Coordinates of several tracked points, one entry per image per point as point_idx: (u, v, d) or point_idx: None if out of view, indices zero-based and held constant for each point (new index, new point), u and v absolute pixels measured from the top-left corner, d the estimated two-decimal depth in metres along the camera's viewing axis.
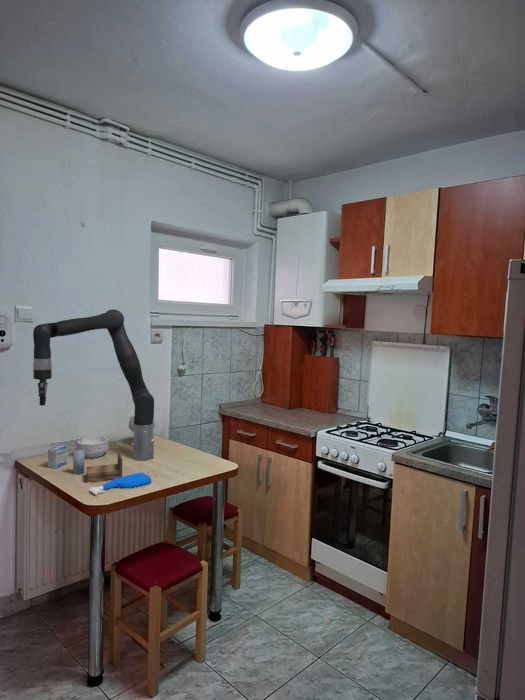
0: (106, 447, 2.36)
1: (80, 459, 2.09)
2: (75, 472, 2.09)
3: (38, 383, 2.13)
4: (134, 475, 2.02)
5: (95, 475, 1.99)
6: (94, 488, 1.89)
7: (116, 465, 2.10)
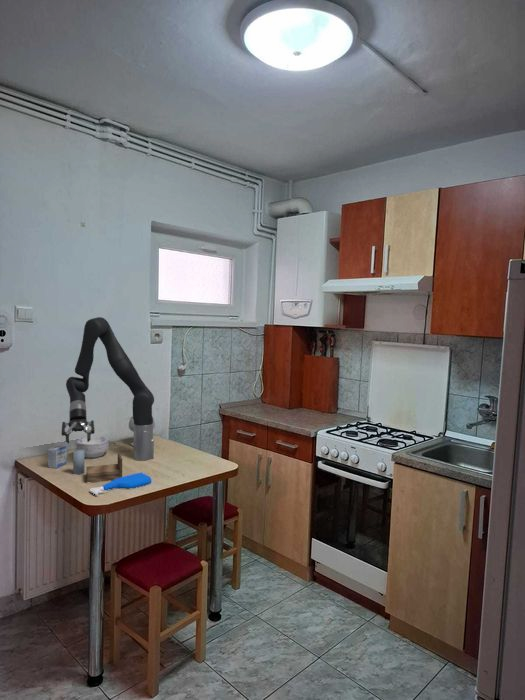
0: (106, 447, 2.36)
1: (80, 459, 2.09)
2: (75, 472, 2.09)
3: None
4: (134, 475, 2.02)
5: (95, 475, 1.99)
6: (94, 489, 1.88)
7: (116, 465, 2.10)
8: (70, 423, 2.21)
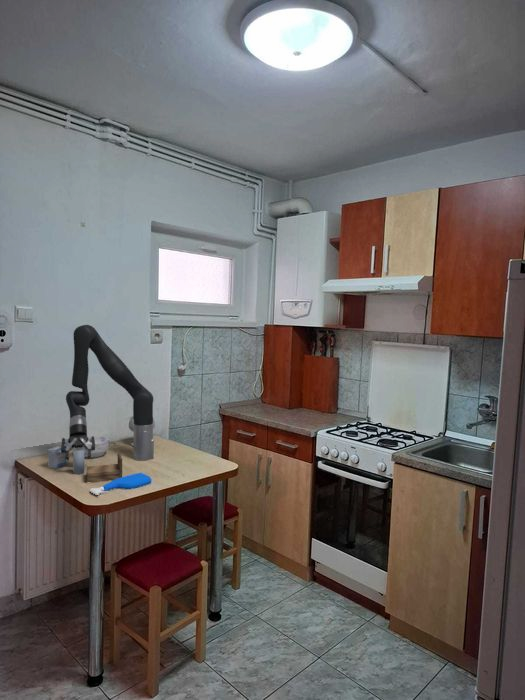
0: (106, 447, 2.36)
1: (80, 459, 2.09)
2: (75, 472, 2.09)
3: None
4: (133, 475, 2.02)
5: (95, 475, 1.99)
6: (95, 489, 1.88)
7: (116, 465, 2.10)
8: (70, 439, 2.14)
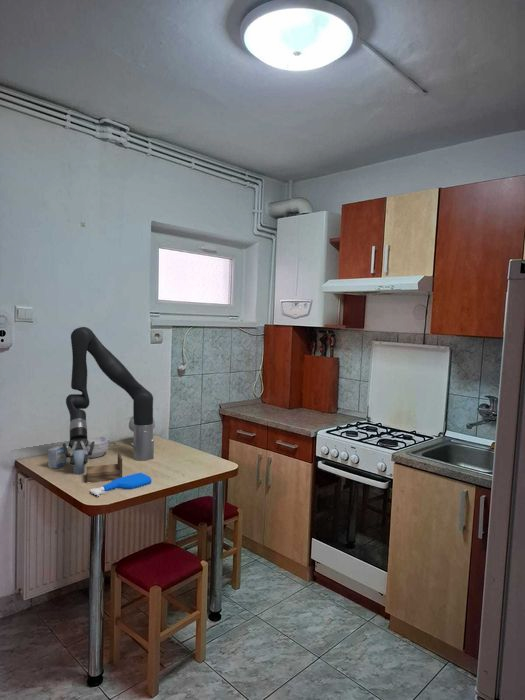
0: (106, 447, 2.36)
1: (80, 459, 2.09)
2: (75, 472, 2.09)
3: None
4: (133, 475, 2.01)
5: (95, 475, 1.99)
6: (95, 489, 1.87)
7: (116, 465, 2.10)
8: (71, 443, 2.13)
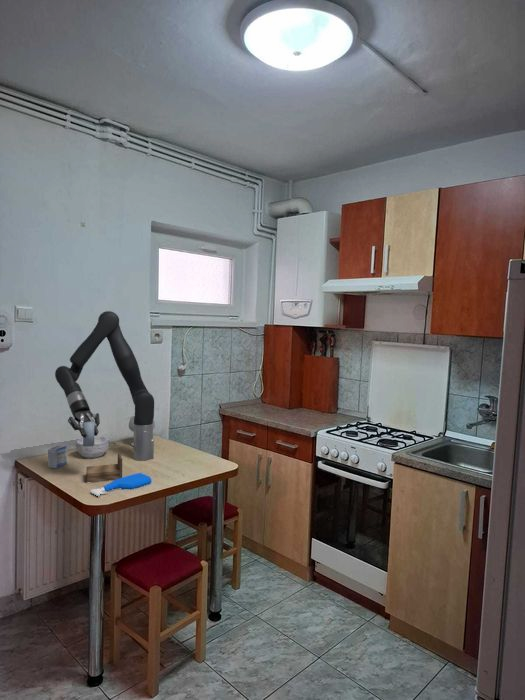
0: (106, 447, 2.36)
1: (92, 431, 2.05)
2: (87, 444, 2.04)
3: None
4: (133, 476, 2.01)
5: (95, 475, 1.99)
6: (95, 490, 1.87)
7: (116, 465, 2.10)
8: (77, 415, 2.06)
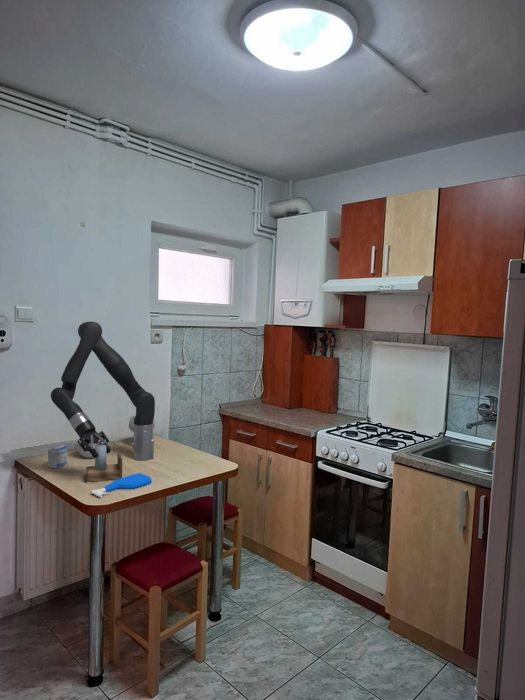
0: None
1: (105, 454, 2.04)
2: (101, 468, 2.03)
3: None
4: (133, 476, 2.01)
5: (95, 475, 1.99)
6: (96, 490, 1.86)
7: (116, 465, 2.10)
8: (86, 437, 2.02)
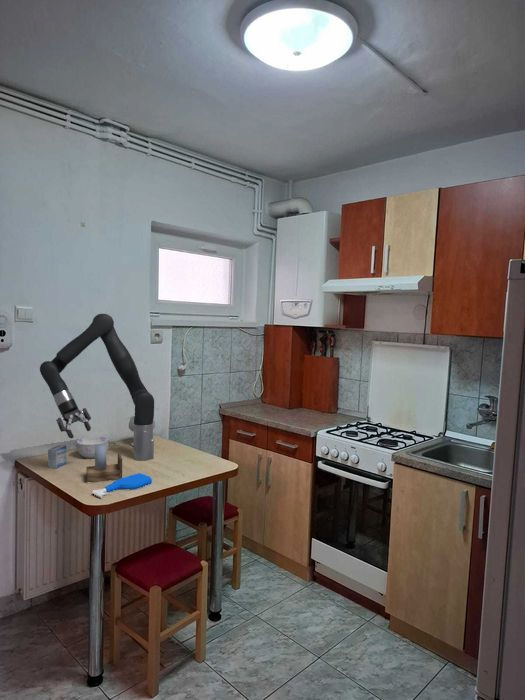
0: (106, 447, 2.36)
1: (105, 454, 2.04)
2: (101, 468, 2.03)
3: None
4: (133, 476, 2.01)
5: (95, 475, 1.99)
6: (97, 491, 1.86)
7: (116, 465, 2.10)
8: (66, 417, 2.10)
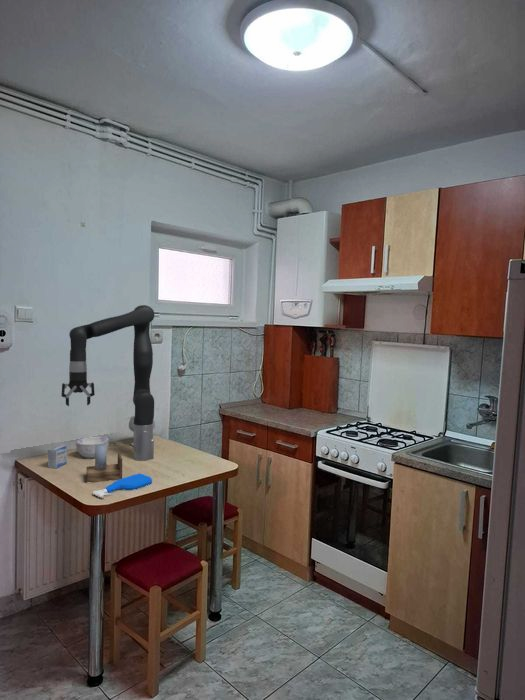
0: None
1: None
2: (101, 468, 2.03)
3: None
4: (133, 476, 2.01)
5: (95, 475, 1.99)
6: (98, 491, 1.85)
7: (116, 465, 2.10)
8: (70, 385, 2.17)
